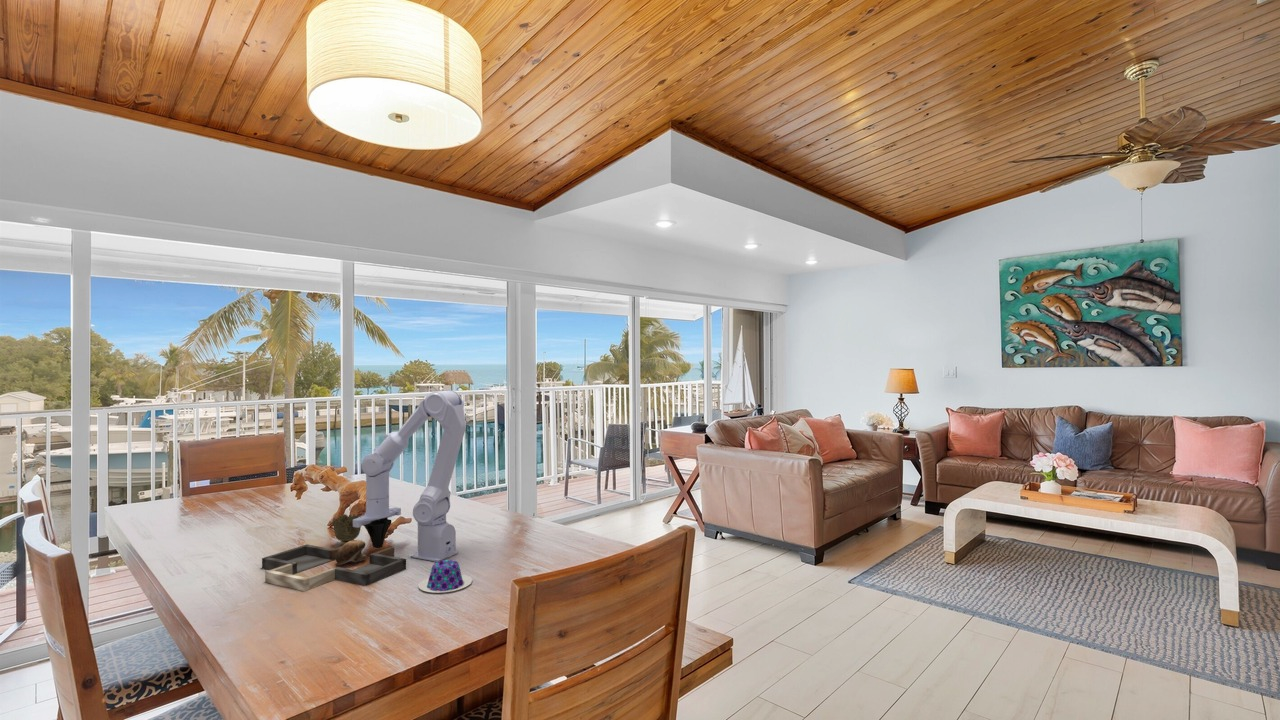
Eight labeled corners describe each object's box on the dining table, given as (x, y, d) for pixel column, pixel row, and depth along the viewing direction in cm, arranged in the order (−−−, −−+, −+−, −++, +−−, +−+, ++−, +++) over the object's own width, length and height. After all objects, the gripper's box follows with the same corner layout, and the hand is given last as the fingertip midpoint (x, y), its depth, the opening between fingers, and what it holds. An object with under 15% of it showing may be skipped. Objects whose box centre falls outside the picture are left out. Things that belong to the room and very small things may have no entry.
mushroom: (379, 547, 159) (363, 529, 158) (357, 568, 152) (341, 549, 151) (362, 557, 163) (347, 539, 162) (340, 578, 156) (324, 559, 155)
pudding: (417, 580, 145) (417, 558, 145) (469, 573, 150) (469, 552, 150) (419, 599, 134) (419, 575, 134) (475, 591, 139) (475, 568, 139)
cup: (350, 550, 167) (350, 521, 167) (326, 548, 169) (326, 519, 169) (367, 542, 175) (367, 514, 174) (344, 540, 176) (344, 512, 176)
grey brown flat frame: (423, 561, 158) (423, 552, 158) (335, 598, 134) (335, 586, 134) (332, 545, 171) (332, 536, 171) (237, 576, 147) (237, 565, 147)
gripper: (387, 490, 173) (387, 538, 173) (344, 501, 160) (344, 553, 160) (406, 492, 170) (406, 541, 170) (363, 504, 157) (363, 556, 157)
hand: (377, 547), depth 165 cm, fingers closed
